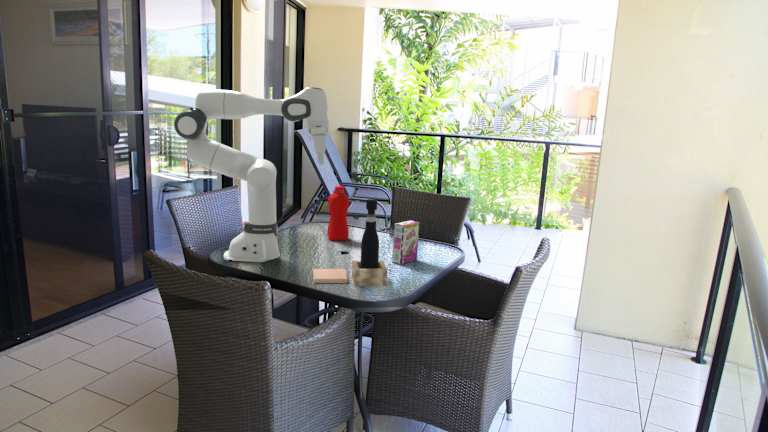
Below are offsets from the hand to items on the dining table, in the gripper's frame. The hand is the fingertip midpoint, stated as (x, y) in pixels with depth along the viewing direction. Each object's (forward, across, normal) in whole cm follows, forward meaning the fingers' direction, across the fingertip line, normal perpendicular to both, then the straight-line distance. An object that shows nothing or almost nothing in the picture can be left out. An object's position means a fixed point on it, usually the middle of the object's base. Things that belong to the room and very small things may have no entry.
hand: (320, 163), depth 232 cm
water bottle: (+40, -29, +5) cm, 49 cm away
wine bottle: (+40, +33, +13) cm, 54 cm away
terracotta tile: (+39, +29, -1) cm, 49 cm away
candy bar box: (+42, +8, +31) cm, 53 cm away
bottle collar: (+40, +33, +13) cm, 54 cm away
